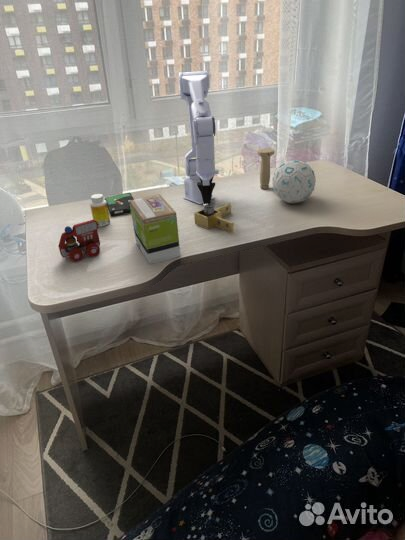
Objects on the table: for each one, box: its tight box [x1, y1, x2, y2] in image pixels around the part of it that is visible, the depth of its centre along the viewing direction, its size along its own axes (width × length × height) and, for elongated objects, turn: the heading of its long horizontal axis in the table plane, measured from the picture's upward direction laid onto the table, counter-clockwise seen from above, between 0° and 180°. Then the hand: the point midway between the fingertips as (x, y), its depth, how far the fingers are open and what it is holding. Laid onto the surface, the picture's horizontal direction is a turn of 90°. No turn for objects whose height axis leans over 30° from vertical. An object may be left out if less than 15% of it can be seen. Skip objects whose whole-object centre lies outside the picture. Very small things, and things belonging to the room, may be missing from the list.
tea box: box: [129, 193, 181, 265], centre depth 121 cm, size 15×10×15 cm
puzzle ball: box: [272, 159, 317, 204], centre depth 147 cm, size 15×15×15 cm
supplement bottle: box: [89, 193, 111, 228], centre depth 139 cm, size 6×6×10 cm
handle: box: [257, 147, 275, 190], centre depth 159 cm, size 5×6×15 cm
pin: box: [202, 201, 215, 217], centre depth 137 cm, size 4×4×7 cm
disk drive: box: [104, 192, 135, 217], centre depth 153 cm, size 10×3×15 cm
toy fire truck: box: [57, 219, 101, 263], centre depth 121 cm, size 7×12×10 cm, turn 120°
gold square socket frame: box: [193, 202, 235, 234], centre depth 137 cm, size 14×14×4 cm
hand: (207, 198), depth 134 cm, fingers open, 7 cm apart
